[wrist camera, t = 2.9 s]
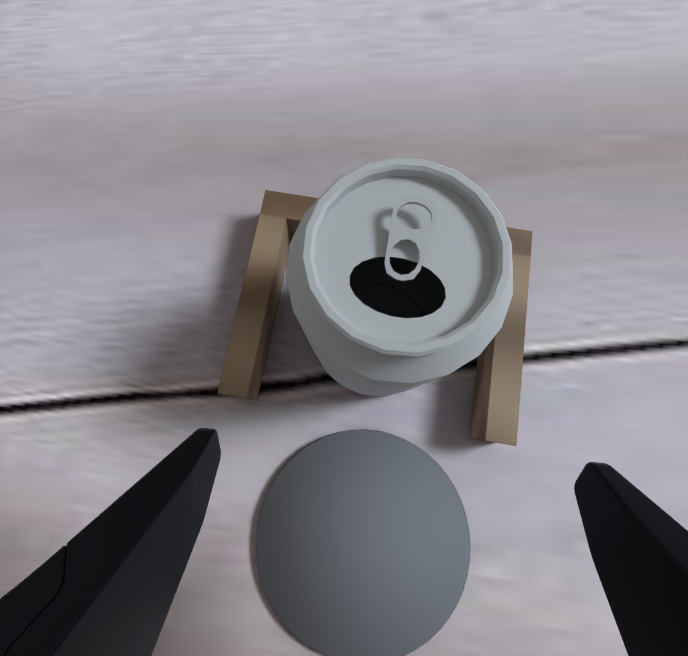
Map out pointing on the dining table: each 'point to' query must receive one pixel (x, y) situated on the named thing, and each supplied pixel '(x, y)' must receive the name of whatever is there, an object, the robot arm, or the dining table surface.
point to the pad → (363, 545)
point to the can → (400, 275)
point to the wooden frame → (263, 296)
